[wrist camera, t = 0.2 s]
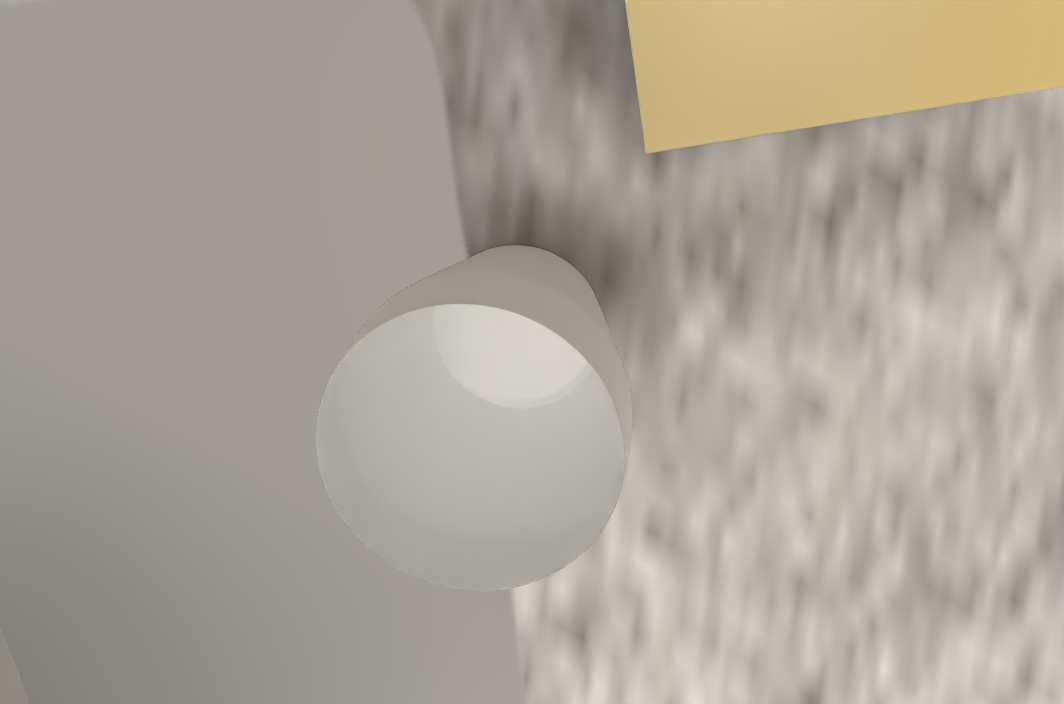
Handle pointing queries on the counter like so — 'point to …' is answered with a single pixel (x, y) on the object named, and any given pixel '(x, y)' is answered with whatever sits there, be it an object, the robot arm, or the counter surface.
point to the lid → (829, 61)
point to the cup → (479, 423)
